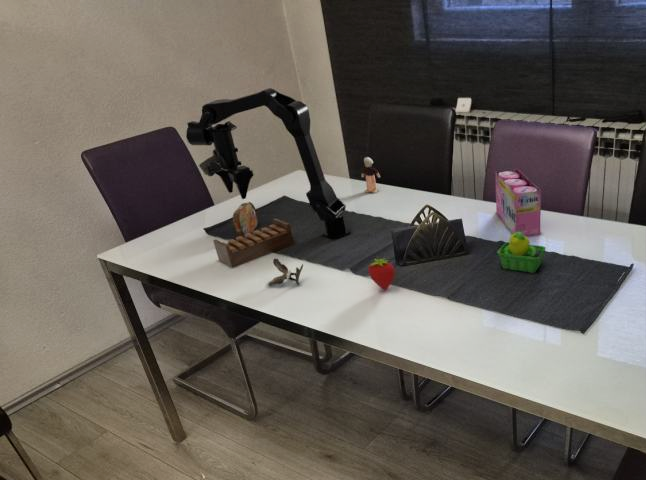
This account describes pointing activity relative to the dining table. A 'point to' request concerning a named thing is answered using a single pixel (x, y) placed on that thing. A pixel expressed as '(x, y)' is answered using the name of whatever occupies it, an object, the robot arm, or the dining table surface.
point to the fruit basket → (521, 254)
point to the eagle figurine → (285, 273)
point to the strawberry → (382, 273)
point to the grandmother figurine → (370, 175)
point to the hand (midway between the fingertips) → (237, 195)
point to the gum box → (518, 202)
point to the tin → (245, 219)
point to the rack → (254, 244)
